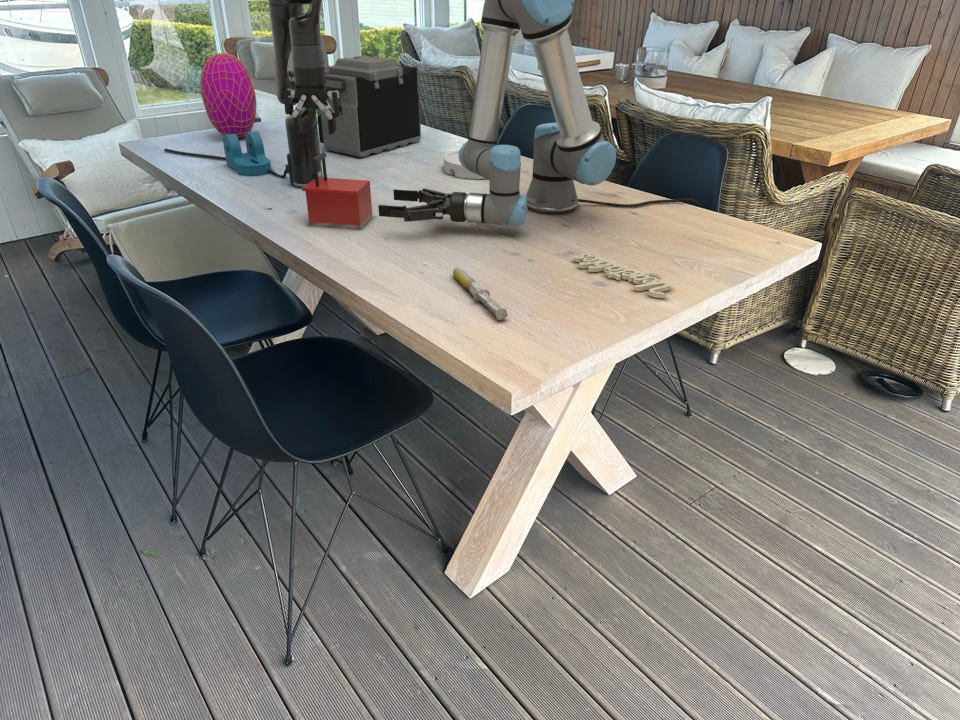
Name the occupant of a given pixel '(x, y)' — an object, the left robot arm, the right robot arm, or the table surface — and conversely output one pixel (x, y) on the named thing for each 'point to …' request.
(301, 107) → the left robot arm
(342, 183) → the lid
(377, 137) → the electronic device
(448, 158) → the ashtray
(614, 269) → the decorative sign
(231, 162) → the camera mount
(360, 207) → the chest
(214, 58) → the decorative egg
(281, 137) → the table surface
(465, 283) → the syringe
